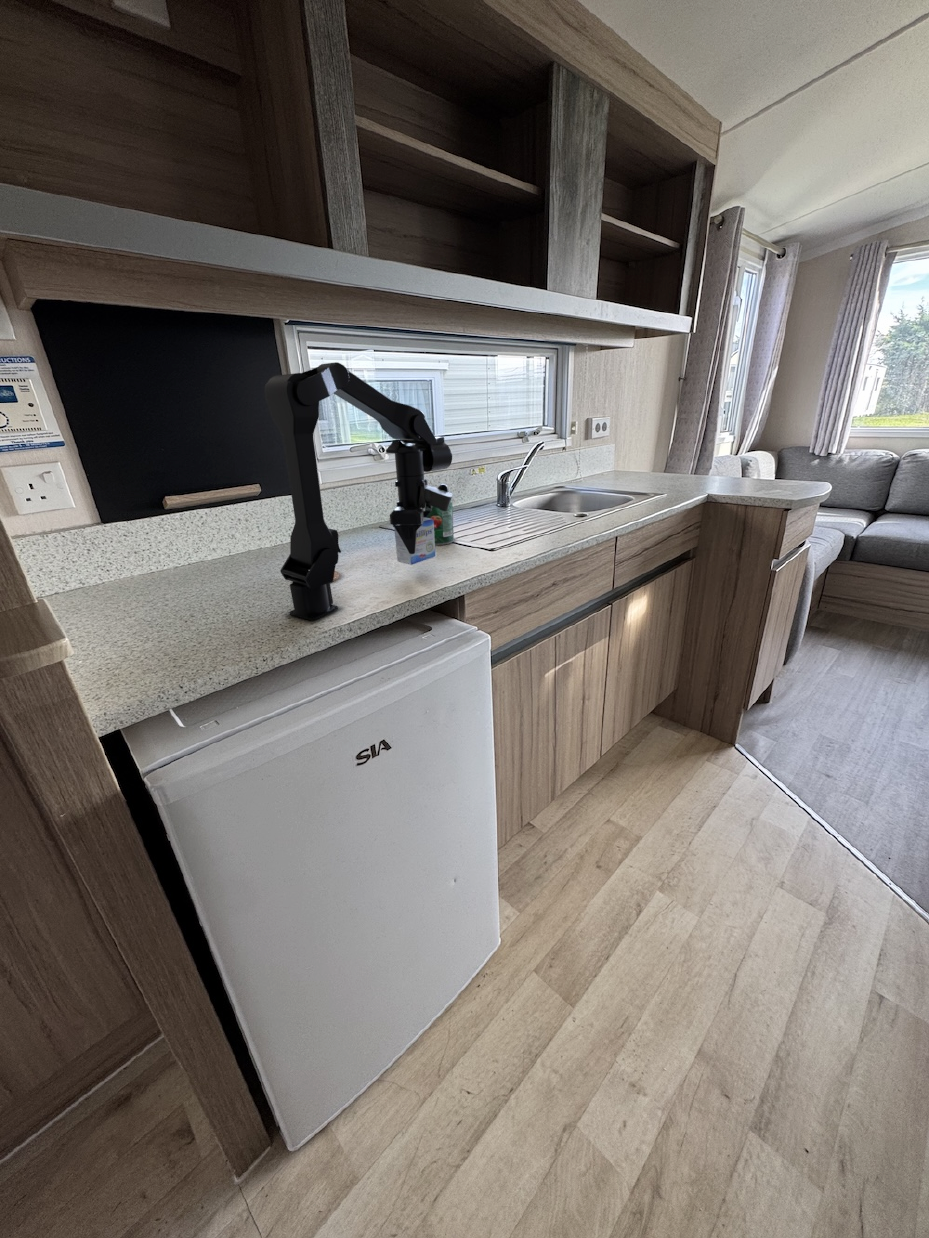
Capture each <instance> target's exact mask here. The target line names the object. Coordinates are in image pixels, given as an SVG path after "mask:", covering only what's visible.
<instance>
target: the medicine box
mask: <svg viewBox="0 0 929 1238" xmlns="http://www.w3.org/2000/svg"><path fill="white" fill-rule="evenodd" d="M393 529H394V539H395V550H396V560H397V562H398V563H402V564H406V565H410V566H413V565H415V564H418V563H421V562H424V561H427V560H429V559H432V558H433V559H434V558H435V557H436V545H435V539H434V522H433V519H430V518H424V517H423V524H422V525H421V527H420V528H419V529H418V530H417V537H416V548H415V553H414V554H410V553H409V552H408V550H407V548H406V546H405V544H404V543H403V541H402V539H401V537H400V536H399V534H398V532H397V531H396V529H395V527H393Z"/></svg>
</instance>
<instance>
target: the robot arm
mask: <svg viewBox="0 0 929 1238" xmlns="http://www.w3.org/2000/svg"><path fill="white" fill-rule="evenodd" d="M333 394H334V395H335V396H336V397H339V398H340V399H342V400H344V401H345V402H347V403H348V404H350V405H352V406H353V407H355V408H356V409H358V410H359V411H361V412H363V413H364V414H366V415H368V416H369V417H371V418H373V419H374V420H376V421H377V422H378V423H379V425H380V427H381V429H382V430H383V431H384V432H385V434H387V435H388V436H389V437H390V438H392V439H393V440H392V441H391V444H390V445H389V446H388V447H387V448H386V449H385V453H386V454H393V455H394V461H395V472H396V473H395V474H396V480H395V481H394V487H395V488H397V497H398V500H397V501H396V507H395V508H394V510H393V511H392V512H391V513H390V514H389V522H390V523H389V525H391V526H392V527H393V528H394V527H395V529H396V531H397V532H398V534H399V536H400V537H401V539H402V541H403V543H404V544H405V546H406V548H407V550H408V552H409V553H410V554H414V553H415V548H416V537H417V530H418V529H419V528H420V527H421V525H422V524H423V517H424V518H426V517H427V515H428V514H429V513H430V512H431V510H432V507H436V508H439V509H440V510H442V511H447V510H448V508H449V505H450V502H451V500H453V493H452V492H451V491H450V490H449V485H447V484H444V483H441V484H439V486H438V487H437V486H431V485H429V482H428V479H427V478H426V477H425V473H429V472H435V471H441V470H442V471H443V470H446V469H448V468H450V466H451V465H452V462H453V453H452V451H451V448H450V447H449V445H448V444H447V443H446V442H445V436H435V434H434V432H433V430H432V429H431V427H430V425H429V423H428V422H427V420H426V415H425V414H424V412H423V411H422V410H420V409H418V408H416V407H414V406H413V405H412V406H411V405H409V404H405V403H402V402H397V401H395V400H393V399H391V398H389V397H388V396H386V395H385V394H383V393H382V392H380V391H379V390H378V389H376V388H375V387H374V386H372V385H371V384H369V383H368V382H366V381H365V380H363V379H361V378H360V377H359V376H357V375H355V374H354V373H353V372H351V371H349V370H348V368H347V367H346V366H345V365H344V364H342V363H340V362H339V361H338V362H337V361H336V362H328V363H321V364H319V365H318V366H316V367H314V368H312V369H308V370H306V371H302V372H296V373H295V372H294V373H287V374H278V375H273V376H272V377H270V378H269V379H268V381H267V382H266V384H265V385H264V396H265V400H266V404H267V407H268V410H269V413H270V417H271V418H272V420H273V422H274V424H275V425H276V427H277V429H278V430H279V432H280V434H281V436H282V442H283V448H284V454H285V462H286V469H287V473H288V474H287V475H288V482H289V488H290V494H291V495H290V496H291V501H292V508H293V515H294V525H293V527H292V531H291V534H290V536H289V537H290V538H289V539H290V540H289V543H290V544H289V546H290V547H289V548H290V549H289V550H290V551H289V553H290V554H289V555H288V557H287V559H286V560H285V562H284V563H283V565H282V567H281V568H280V570H279V572H280V574H281V575H282V577H283V579H284V580H286V581H289V582H292V583H290V584H289V589H290V594H291V600H292V604H293V609H292V610H290V611H289V612H288V613H289V615H290V616H293V617H297V618H300V619H303V620H307V621H316V620H318V619H320V618H322V617H324V616H327V615H329V614H331V613H333V612H335V611H337V610H339V606H338V605H335V604H334V599H333V593H332V586H331V583H333V582H334V581H333V579H334V572H335V571H336V566H337V564H338V562H339V554H341V553H342V550H341V548H340V544H339V532H338V529H333V528H329V527H328V525H327V523H326V521H325V518H324V517H325V516H324V510H323V502H322V501H323V500H322V495H321V486H320V479H319V478H320V477H319V472H318V471H319V469H318V462H317V455H316V448H315V446H316V445H315V439H314V434H315V430H316V428H317V427H316V426H317V424H318V421H319V418H320V402H321V401H323V400H325V399H327V398H329V397H331V396H332V395H333ZM449 491H450V492H449ZM425 507H429V509H426V508H425Z"/></svg>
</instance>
